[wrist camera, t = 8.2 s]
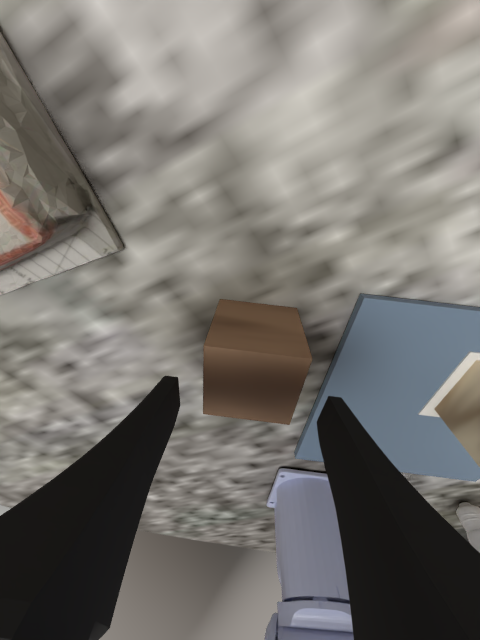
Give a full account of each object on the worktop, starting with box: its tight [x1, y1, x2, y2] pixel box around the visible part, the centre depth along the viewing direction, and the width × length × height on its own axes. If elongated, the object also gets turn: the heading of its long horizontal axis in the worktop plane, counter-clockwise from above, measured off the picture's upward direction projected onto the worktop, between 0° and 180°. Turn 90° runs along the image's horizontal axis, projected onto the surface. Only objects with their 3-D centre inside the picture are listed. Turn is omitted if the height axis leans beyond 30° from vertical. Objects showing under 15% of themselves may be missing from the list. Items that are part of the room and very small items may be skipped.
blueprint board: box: [294, 294, 480, 482], centre depth 18 cm, size 18×18×1 cm
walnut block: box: [203, 299, 312, 425], centre depth 14 cm, size 5×5×5 cm
